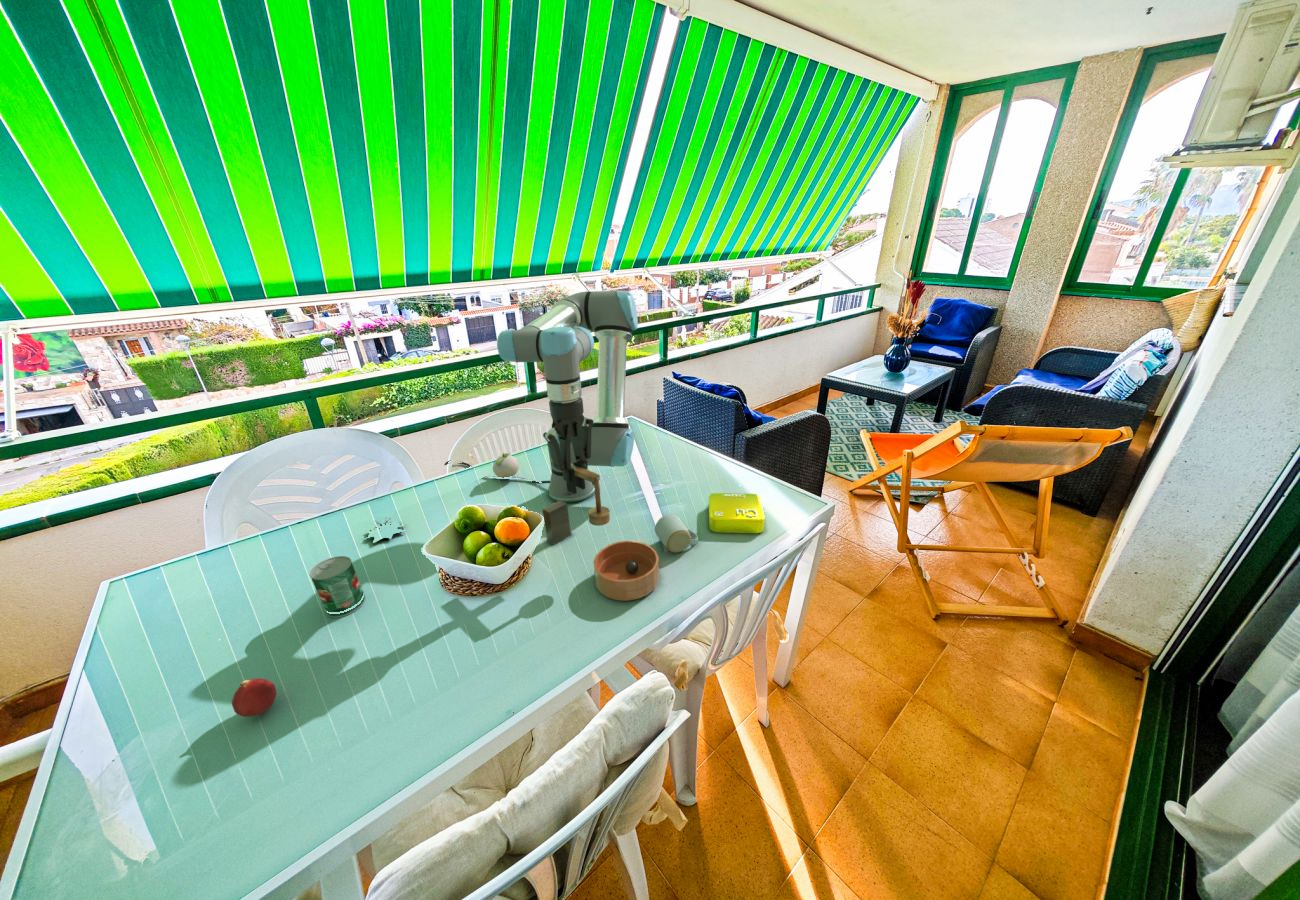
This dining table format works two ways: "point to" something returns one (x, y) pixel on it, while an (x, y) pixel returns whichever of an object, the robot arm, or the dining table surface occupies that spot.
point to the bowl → (615, 576)
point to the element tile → (735, 513)
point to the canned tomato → (337, 585)
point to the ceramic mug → (674, 533)
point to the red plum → (254, 697)
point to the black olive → (631, 567)
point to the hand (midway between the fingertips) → (576, 489)
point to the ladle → (598, 513)
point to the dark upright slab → (556, 522)
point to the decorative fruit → (505, 465)
